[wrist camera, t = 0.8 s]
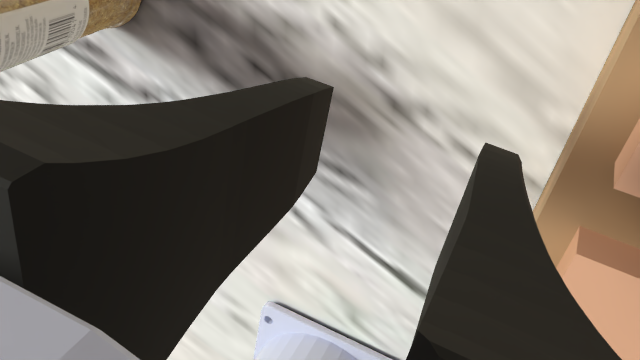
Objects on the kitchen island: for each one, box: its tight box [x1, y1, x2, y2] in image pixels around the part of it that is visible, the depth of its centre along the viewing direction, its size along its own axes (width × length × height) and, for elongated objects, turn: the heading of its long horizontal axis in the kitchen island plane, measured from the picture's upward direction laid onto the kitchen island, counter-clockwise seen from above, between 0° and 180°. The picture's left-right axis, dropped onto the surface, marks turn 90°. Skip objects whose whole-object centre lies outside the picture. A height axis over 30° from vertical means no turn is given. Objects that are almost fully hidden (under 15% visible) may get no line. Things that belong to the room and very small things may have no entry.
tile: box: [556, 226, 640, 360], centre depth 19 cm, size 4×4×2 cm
